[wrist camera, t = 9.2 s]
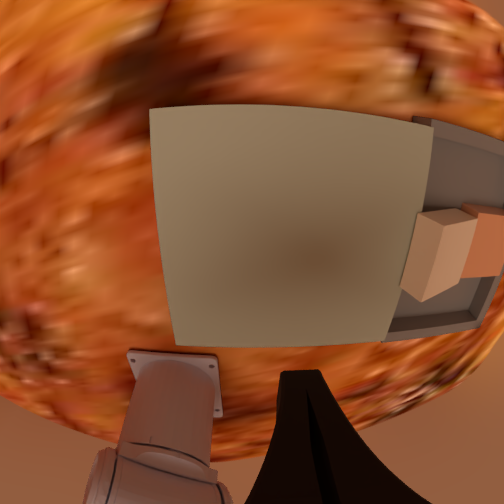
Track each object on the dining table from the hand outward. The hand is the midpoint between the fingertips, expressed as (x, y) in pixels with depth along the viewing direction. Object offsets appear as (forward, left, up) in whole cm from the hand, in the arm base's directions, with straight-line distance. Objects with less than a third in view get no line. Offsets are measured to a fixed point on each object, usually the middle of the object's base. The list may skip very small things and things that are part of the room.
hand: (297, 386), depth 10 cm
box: (+2, -14, -10) cm, 17 cm away
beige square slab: (+2, -1, -10) cm, 11 cm away
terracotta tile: (+2, -16, -10) cm, 19 cm away
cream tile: (+2, -10, -9) cm, 14 cm away
